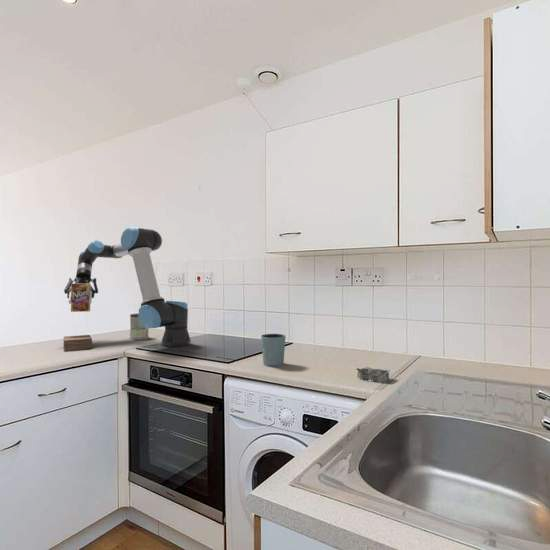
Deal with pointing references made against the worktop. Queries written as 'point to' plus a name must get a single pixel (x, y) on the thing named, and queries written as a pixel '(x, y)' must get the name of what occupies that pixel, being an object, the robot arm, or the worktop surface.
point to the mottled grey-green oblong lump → (373, 374)
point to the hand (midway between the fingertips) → (80, 302)
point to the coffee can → (137, 328)
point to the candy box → (80, 297)
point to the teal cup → (273, 349)
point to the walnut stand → (77, 342)
